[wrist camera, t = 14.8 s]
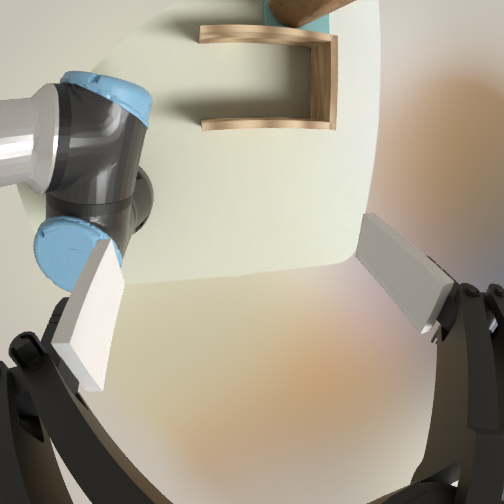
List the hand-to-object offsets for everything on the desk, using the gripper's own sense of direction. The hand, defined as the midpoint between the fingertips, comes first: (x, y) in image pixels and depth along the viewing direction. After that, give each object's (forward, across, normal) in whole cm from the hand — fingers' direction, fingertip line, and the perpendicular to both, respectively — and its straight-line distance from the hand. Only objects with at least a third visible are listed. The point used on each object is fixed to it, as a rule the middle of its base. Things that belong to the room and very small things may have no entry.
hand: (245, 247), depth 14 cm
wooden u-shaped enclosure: (+37, +9, +11) cm, 39 cm away
